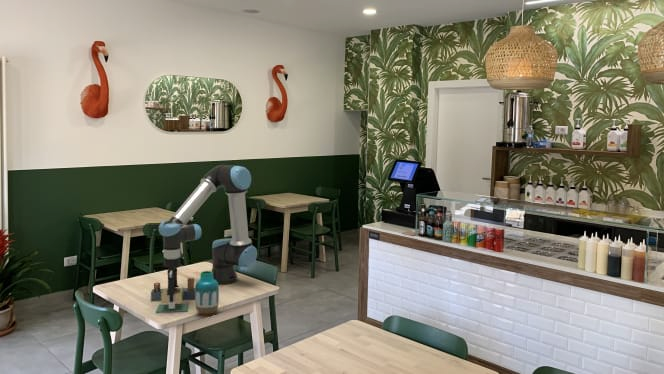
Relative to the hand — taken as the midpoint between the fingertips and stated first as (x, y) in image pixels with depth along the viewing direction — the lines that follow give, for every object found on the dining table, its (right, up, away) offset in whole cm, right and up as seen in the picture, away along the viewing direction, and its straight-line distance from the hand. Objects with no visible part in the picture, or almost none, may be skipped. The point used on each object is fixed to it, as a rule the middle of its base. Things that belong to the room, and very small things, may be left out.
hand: (173, 304), depth 247 cm
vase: (+17, -3, -5) cm, 18 cm away
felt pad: (0, -2, 0) cm, 2 cm away
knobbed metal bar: (-4, 0, +14) cm, 14 cm away
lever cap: (0, +2, 0) cm, 2 cm away
